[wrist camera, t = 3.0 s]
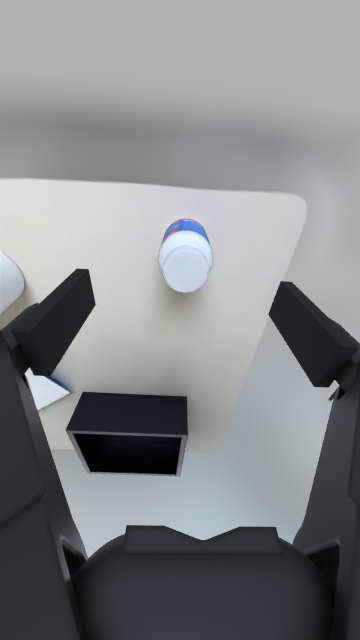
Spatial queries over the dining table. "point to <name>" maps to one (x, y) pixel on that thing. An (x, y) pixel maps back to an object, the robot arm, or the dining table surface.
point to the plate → (44, 389)
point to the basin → (130, 433)
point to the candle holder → (9, 282)
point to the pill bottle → (185, 256)
